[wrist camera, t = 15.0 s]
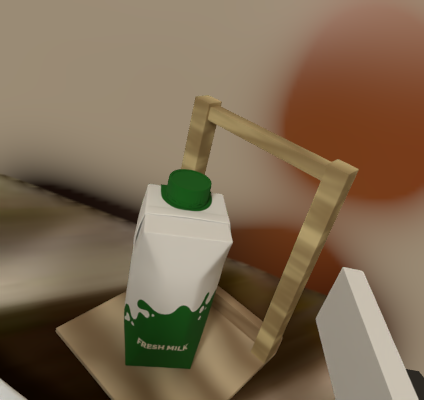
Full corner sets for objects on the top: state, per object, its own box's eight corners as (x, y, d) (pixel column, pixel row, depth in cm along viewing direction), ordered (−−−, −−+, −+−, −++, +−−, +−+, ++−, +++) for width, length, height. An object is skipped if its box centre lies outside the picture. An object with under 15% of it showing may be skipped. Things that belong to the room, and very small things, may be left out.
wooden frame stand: (164, 464, 35) (235, 234, 22) (55, 332, 44) (60, 112, 31) (275, 354, 48) (361, 167, 35) (173, 269, 56) (212, 94, 43)
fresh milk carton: (194, 312, 50) (233, 174, 39) (199, 378, 42) (248, 228, 32) (123, 306, 48) (144, 160, 38) (114, 374, 40) (138, 214, 30)
